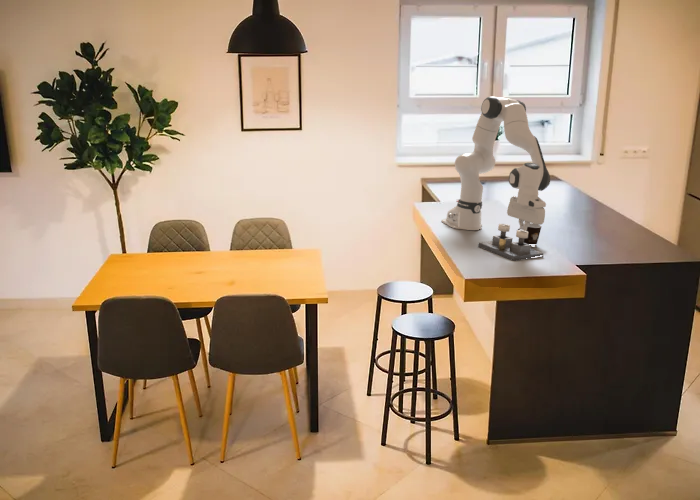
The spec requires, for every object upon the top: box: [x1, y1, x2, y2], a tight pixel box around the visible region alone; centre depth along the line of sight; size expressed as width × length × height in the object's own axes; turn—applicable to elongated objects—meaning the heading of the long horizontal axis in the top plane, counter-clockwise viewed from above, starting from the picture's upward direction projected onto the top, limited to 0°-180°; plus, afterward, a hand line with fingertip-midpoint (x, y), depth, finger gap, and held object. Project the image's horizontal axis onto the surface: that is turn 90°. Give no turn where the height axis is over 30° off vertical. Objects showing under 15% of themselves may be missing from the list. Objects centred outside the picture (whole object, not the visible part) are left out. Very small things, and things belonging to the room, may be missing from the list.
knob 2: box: [515, 229, 528, 245], centre depth 328 cm, size 5×5×6 cm
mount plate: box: [477, 234, 544, 262], centre depth 334 cm, size 24×18×6 cm
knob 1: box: [497, 223, 511, 238], centre depth 337 cm, size 5×5×6 cm
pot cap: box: [499, 238, 506, 250], centre depth 331 cm, size 3×3×5 cm
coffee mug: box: [517, 222, 542, 245], centre depth 348 cm, size 12×9×10 cm
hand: (523, 229), depth 326 cm, fingers closed
